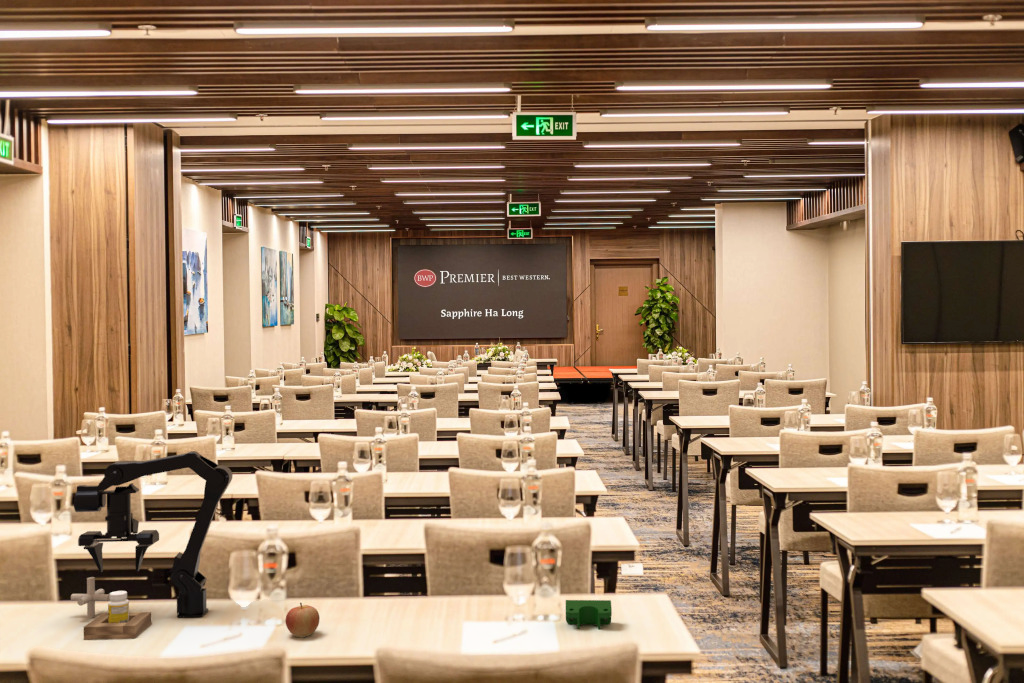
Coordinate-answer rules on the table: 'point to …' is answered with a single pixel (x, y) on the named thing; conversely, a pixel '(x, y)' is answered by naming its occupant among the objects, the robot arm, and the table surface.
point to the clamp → (588, 612)
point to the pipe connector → (90, 597)
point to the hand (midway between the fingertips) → (119, 571)
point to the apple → (302, 620)
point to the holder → (117, 627)
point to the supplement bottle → (118, 607)
